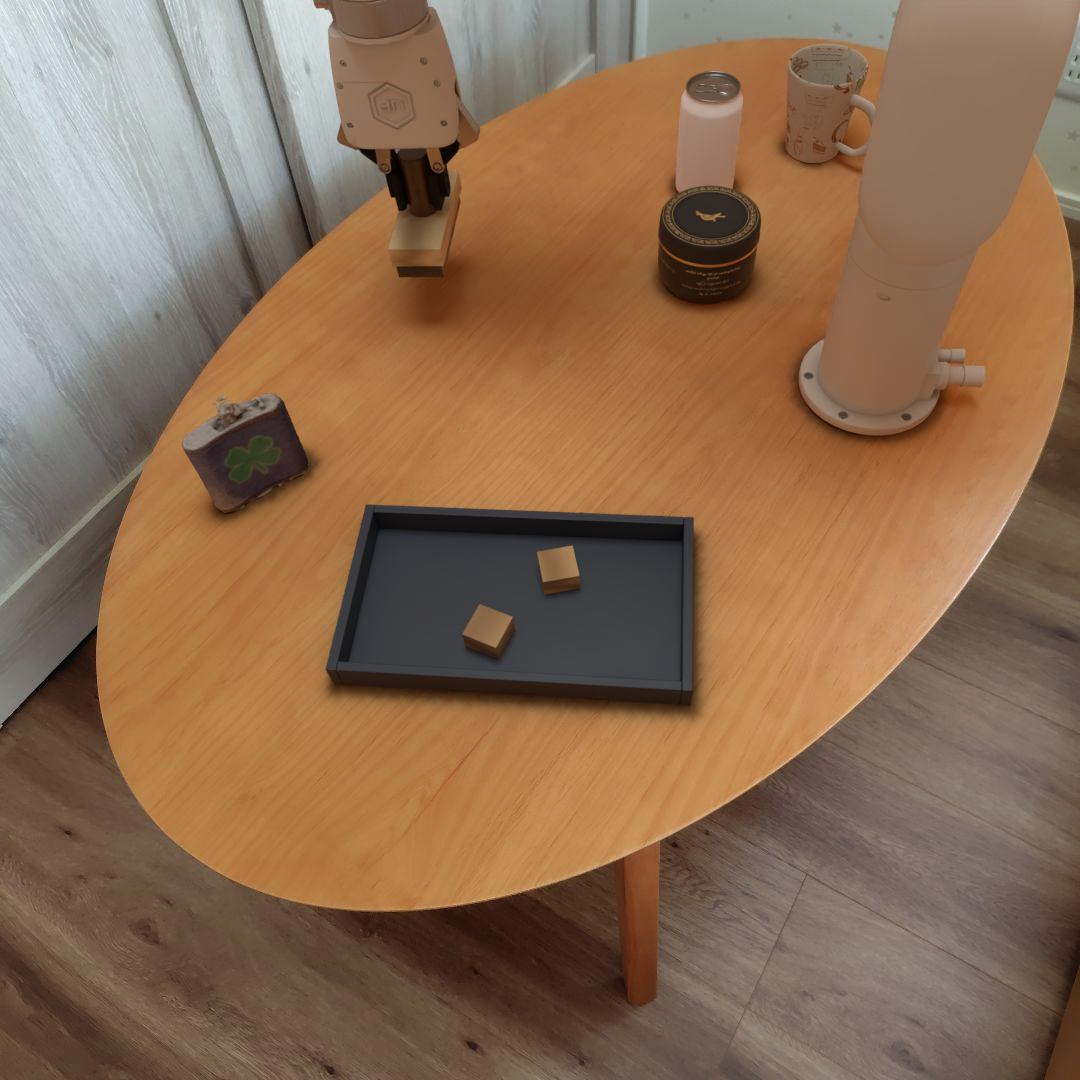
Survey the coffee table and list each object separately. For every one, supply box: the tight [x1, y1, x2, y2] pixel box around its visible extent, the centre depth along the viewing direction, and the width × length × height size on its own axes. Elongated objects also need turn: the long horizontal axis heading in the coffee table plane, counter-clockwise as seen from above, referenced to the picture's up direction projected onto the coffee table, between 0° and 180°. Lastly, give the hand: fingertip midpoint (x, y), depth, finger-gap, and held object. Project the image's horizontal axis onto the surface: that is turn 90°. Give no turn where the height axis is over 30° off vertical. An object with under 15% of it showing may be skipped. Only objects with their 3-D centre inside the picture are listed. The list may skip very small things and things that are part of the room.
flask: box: [181, 392, 311, 514], centre depth 82 cm, size 9×3×11 cm, turn 125°
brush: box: [387, 148, 462, 279], centre depth 90 cm, size 5×12×10 cm, turn 175°
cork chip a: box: [537, 546, 580, 595], centre depth 77 cm, size 3×3×2 cm
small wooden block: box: [462, 604, 515, 659], centre depth 74 cm, size 3×3×2 cm
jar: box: [657, 186, 762, 305], centre depth 95 cm, size 10×10×8 cm
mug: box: [785, 43, 876, 164], centre depth 104 cm, size 8×13×10 cm, turn 43°
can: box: [675, 70, 744, 193], centre depth 101 cm, size 6×6×12 cm
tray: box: [325, 503, 695, 707], centre depth 76 cm, size 28×16×3 cm, turn 85°
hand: (422, 200), depth 90 cm, fingers closed on brush, 2 cm apart
